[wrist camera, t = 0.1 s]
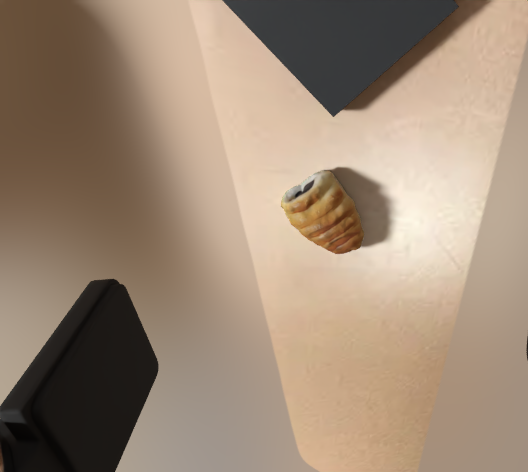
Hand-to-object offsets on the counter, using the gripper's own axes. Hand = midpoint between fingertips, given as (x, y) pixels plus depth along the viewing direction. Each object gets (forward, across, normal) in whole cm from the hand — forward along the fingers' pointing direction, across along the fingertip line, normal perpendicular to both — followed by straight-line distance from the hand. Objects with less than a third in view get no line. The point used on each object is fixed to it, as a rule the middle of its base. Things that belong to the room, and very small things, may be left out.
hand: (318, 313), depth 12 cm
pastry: (+38, +4, +18) cm, 42 cm away
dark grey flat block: (+37, +1, -3) cm, 37 cm away
